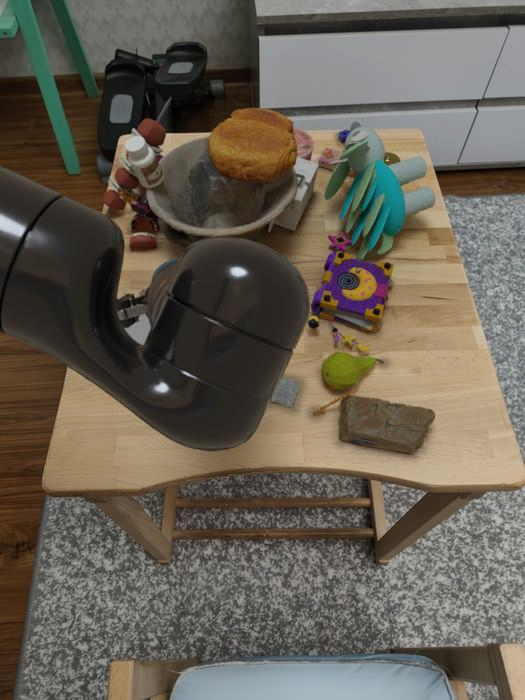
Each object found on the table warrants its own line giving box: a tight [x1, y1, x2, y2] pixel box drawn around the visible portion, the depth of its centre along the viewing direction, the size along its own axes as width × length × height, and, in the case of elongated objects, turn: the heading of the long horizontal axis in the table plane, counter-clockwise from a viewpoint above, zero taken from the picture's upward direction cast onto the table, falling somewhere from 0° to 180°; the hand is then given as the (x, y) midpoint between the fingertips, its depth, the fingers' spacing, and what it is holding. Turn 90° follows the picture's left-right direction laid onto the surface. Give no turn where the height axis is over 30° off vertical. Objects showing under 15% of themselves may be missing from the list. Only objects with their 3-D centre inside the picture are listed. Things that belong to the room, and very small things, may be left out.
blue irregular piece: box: [337, 129, 351, 144], centre depth 112 cm, size 9×5×3 cm, turn 40°
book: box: [307, 231, 396, 352], centre depth 84 cm, size 14×25×12 cm, turn 162°
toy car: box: [119, 188, 159, 223], centre depth 95 cm, size 6×12×5 cm
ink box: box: [267, 157, 320, 234], centre depth 97 cm, size 9×5×15 cm
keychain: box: [312, 390, 355, 416], centre depth 75 cm, size 8×1×1 cm
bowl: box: [145, 136, 298, 248], centre depth 90 cm, size 27×26×15 cm
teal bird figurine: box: [324, 121, 436, 261], centre depth 91 cm, size 14×26×18 cm
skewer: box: [101, 96, 173, 217], centre depth 95 cm, size 5×5×30 cm
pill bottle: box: [124, 136, 164, 188], centre depth 80 cm, size 4×4×8 cm
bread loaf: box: [207, 107, 297, 183], centre depth 82 cm, size 14×16×8 cm
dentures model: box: [128, 213, 160, 250], centre depth 95 cm, size 6×4×8 cm
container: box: [293, 127, 315, 161], centre depth 103 cm, size 10×10×8 cm
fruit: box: [321, 351, 385, 390], centre depth 79 cm, size 6×6×12 cm
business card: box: [270, 376, 301, 408], centre depth 79 cm, size 9×5×1 cm, turn 74°
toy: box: [317, 147, 357, 178], centre depth 107 cm, size 12×2×5 cm
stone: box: [338, 395, 436, 455], centre depth 73 cm, size 14×7×5 cm, turn 78°
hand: (181, 289), depth 56 cm, fingers closed on jar, 6 cm apart
